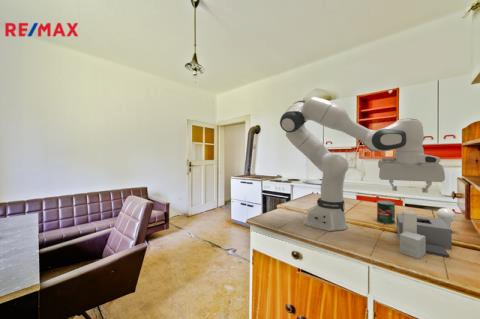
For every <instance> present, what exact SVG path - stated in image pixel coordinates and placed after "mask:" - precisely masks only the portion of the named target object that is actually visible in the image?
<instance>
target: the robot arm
mask: <svg viewBox="0 0 480 319" xmlns="http://www.w3.org/2000/svg"><path fill="white" fill-rule="evenodd" d="M308 121H313V122H315V123H317V124H318V125H321V126H323V127H326V128H327V129H332V130H333V131H334V130H336V131H339V132H342V133H344V134H346V135H348V136H350V137H353V138H354V139H356V140H358V141H360V142H361V143H362V144H363V146H364V147H365V148H366V149H367V150H369V151H370V152H375V153H376V152H378V153H379V152H388V151H392V150H394V151H395V152H394V156H395V157H394V158H382V159H380V160H379V161H377V167H378V169H379V173H378V178H379V179H380V180H383V181H388V184H390V185H391V187H392V191H394V192H396V191H397V192H398V186H397V185H394V184H393V183H394V181H403V182H405V181H407V182H425V184H426V185H425V187H421V193H425V194H426V193H427V194H428V193H429V189H430V187H431V186H432V184H433V183H442V182H444V181H445V180H446V176H445V175H446V174H445V169H444V166H443V165H442V164H440V163H441V158H440V157H439V156H435V155H431V154H425V153H424V152H425V151H424V150H425V149H424V147H423V143H424V141H425V140H424V139H425V138H424V137H425V136H424V127H423V123H422V122H421V121H420V120H419V119H417V118H416V119H415V118H401V119H398V120H396V121H395V122H393V123H392V124H389V125H387V126H385V127H382V128H380V129H370V128H367V127H365V126H363V125H361V124H359V123H357V122H355V121H354V120H352V119H351V117H350V116H349V114H348V112H347V110H346V109H345V108H344V107H342V106H341V105H339V104H338V103H335V102H333V101H331V100H328V99H326V98H322V97H319V96H310V97H309V98H307V99H306V100H298V101H295V102H294V103H293V104H292V105H291V106H289V107H288V108H287V109H286V111H285V112H284V113H283V114H282V116H281V117H280V120H279V125H280V127H281V129H282V130H283V131H284V132H285V136H286V138H287V139H288V141H289V142H290V143H291V145H293V147H295V148H296V149H297V150H298V151H299V152H300V153H302V155H304V156H305V157H306V158H307V160H308V161H310V162H311V163H312V164H313V165H314V166H315V167H316V168H317V169H318V170H320V172H322V178H321V183H320V197H318V198H317V200H316V203H317V205H315V206H314V207H312V208H311V209H309V211H308V212H307V215H306V217H305V218H304V219H303V220H302V224H303V225H304V226H309V227H313V228H316V229H320V230H323V231H327V232H334V231H344V230H346V229H347V228H348V225H347V221H346V217H345V215H346V214H345V210H346V208H345V205H346V203H345V199H344V185H345V184H344V182H345V180H346V179H345V178H346V173H347V171H348V170H349V163H348V160H347V159H346V158H345V157H344V156H342V155H340V154H333V153H332V152H331V151H330V150H328V148H327V147H326V146H325V145H324V143H323V142H322V141H321V140H320V139H318V137H317V136H315V135H314V134H313V133H312V132H311V131H310V130H308V129H307V127H306V126H305V123H307V122H308Z"/></svg>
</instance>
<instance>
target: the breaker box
mask: <svg viewBox="0 0 480 319" xmlns="http://www.w3.org/2000/svg"><path fill="white" fill-rule="evenodd" d="M395 218H396V232H397V236H398V240H399V241H400V234H402V233H403V213H395ZM417 234H419V235H423V236H425V244H430V245H436V246H441V247H444V248H445V249H446V250H452V237H453V236H452V235H453V234H452V229H451V226H450V227H449V226H448V225H447V224H446V223H445V222H444V221H443V220H442V219H440V218H438V217H431V216H430V217H429V216H423V215H422V216H421V215H417Z"/></svg>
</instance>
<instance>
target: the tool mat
mask: <svg viewBox="0 0 480 319" xmlns="http://www.w3.org/2000/svg"><path fill="white" fill-rule="evenodd" d="M425 245H426V254H427V255H433V256H440V257H444V258H447V259H449V258H450V254H449V252H448V251H447V249H446V248H444V247H441V246H436V245H430V244H425Z"/></svg>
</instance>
